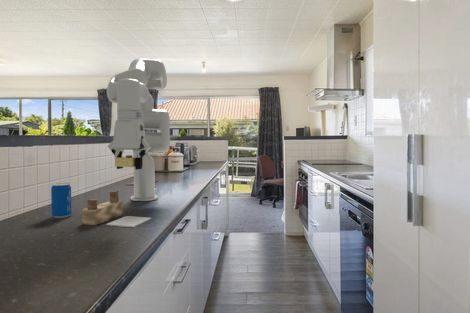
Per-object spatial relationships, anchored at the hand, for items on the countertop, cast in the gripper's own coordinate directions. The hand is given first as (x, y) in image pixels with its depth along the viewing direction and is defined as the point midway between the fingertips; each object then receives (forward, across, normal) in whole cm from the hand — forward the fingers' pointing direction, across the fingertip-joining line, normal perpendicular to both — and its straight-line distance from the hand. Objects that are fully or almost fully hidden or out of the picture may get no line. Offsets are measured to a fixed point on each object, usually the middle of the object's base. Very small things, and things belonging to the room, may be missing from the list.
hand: (129, 168), depth 115 cm
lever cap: (-1, 0, 0) cm, 1 cm away
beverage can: (+19, +28, 0) cm, 34 cm away
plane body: (+19, +11, -1) cm, 22 cm away
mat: (+19, 0, 0) cm, 19 cm away
